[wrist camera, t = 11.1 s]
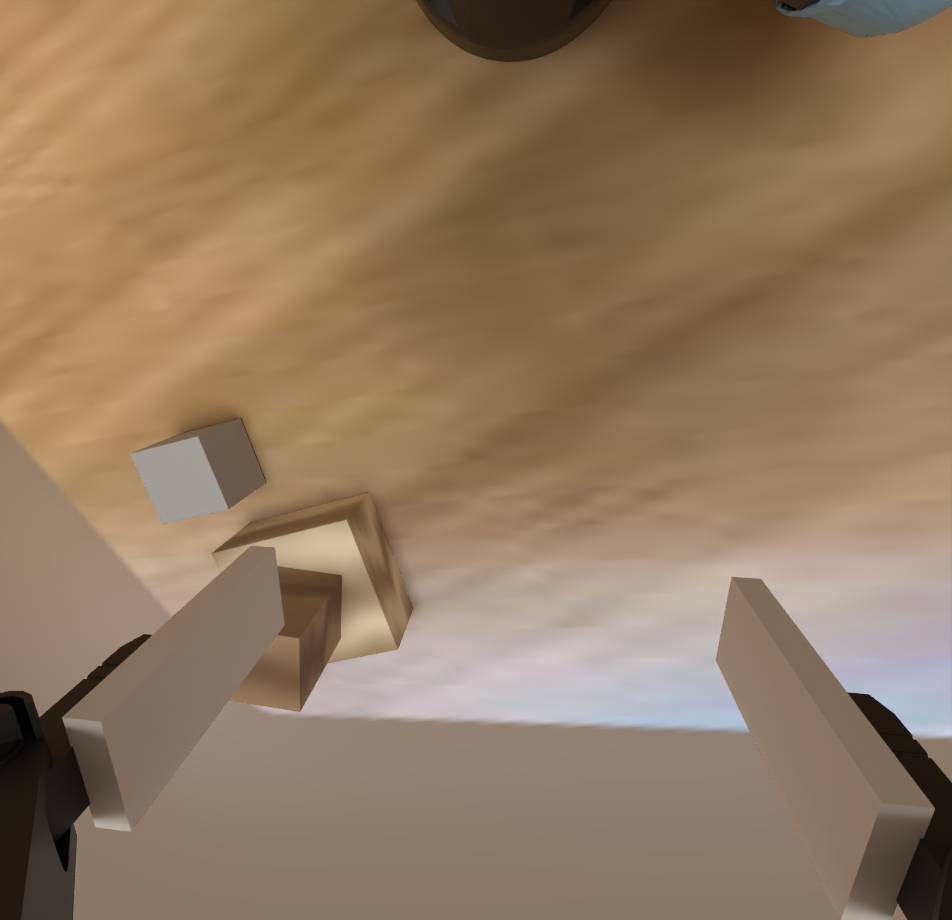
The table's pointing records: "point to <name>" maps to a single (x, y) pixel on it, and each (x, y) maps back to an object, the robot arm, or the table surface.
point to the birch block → (339, 567)
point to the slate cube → (199, 471)
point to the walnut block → (297, 641)
